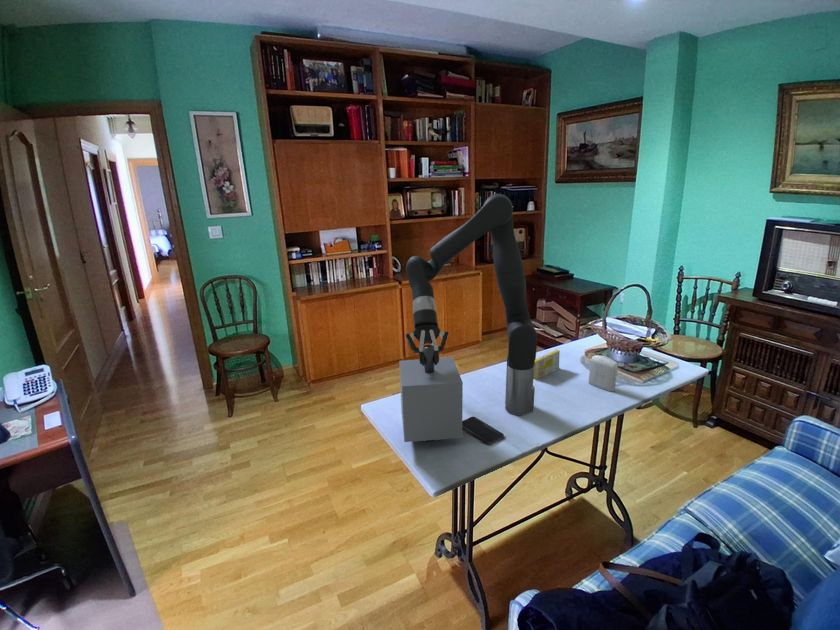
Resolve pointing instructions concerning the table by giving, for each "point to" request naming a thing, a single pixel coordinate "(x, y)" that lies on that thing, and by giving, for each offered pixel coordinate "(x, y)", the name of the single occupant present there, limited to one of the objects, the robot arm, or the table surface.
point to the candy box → (546, 364)
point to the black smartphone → (481, 431)
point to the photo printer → (603, 372)
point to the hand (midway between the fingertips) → (429, 364)
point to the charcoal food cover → (431, 398)
